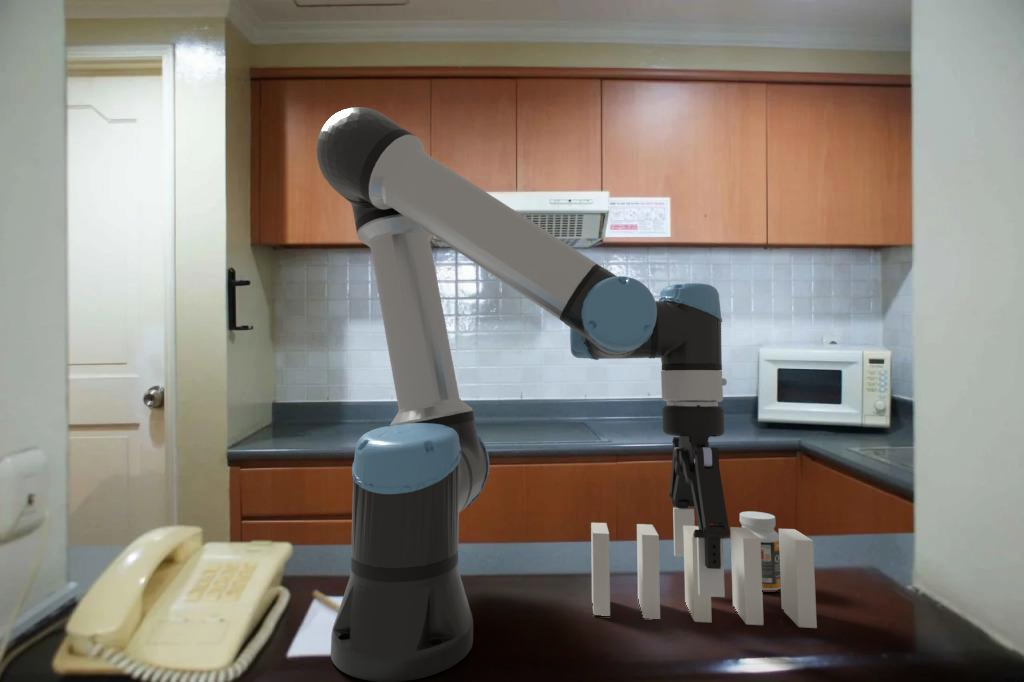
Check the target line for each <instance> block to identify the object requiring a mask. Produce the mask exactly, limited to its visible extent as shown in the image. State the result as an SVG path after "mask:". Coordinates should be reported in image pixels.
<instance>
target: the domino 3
mask: <svg viewBox="0 0 1024 682" xmlns="http://www.w3.org/2000/svg"><path fill="white" fill-rule="evenodd" d="M695 530H699V527H698V525H695V526H683V534H684V557H683V566H684V568H683V569H684V571H683V572H684V603H685V602H686V605H687V607H688V609H689V610H688V609H687V610H688V612H689V611H690V612H689V614H690V613H691V614H690V616H691V618H692V620H693V621H694V623H695V622H696V623H712V622H713V621H712V618H713V617H712V597H708V596H699V594H698V566H697V538H694V536H693V534H694V531H695ZM686 605H685V606H686ZM687 607H686V608H687Z"/></svg>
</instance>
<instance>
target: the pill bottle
mask: <svg viewBox="0 0 1024 682" xmlns="http://www.w3.org/2000/svg"><path fill="white" fill-rule="evenodd" d="M776 522H777V521H776V516H775V515H773V514H771V513H767V512H761V511H752V510H751V511H742V512H739V523H740V524H741V527H743V528H747V529H749V530H750V531H751V532H752V533H754V534H755V535H756V536H757V537H759V538H760V539H761V567H762V590H778V589H781V579H780V553H779V532H777V531H776V530H775V528H776V525H777V523H776Z"/></svg>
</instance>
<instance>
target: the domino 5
mask: <svg viewBox="0 0 1024 682" xmlns="http://www.w3.org/2000/svg"><path fill="white" fill-rule="evenodd" d="M778 534H779V553H780V579H781V590H780V597H781V598H780V599H781V610H782V609H783V610H784V611H783V610H782V611H783V612H784V613H785V615H786V616H787V617H788V618H790V619H791V620H792V622H793V623H794V624H795V625H796V626H797V627H798V628H810V629H817V628H818V625H817V623H818V621H817V602H816V601H817V600H816V581H815V580H816V579H815V576H816V574H815V560H814V559H815V557H814V553H815V552H814V540H813V539H811V538H809V537H808V536H806V535H805V534H803V533H802V532H800V531H799V530H796V529H795V528H778Z"/></svg>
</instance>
